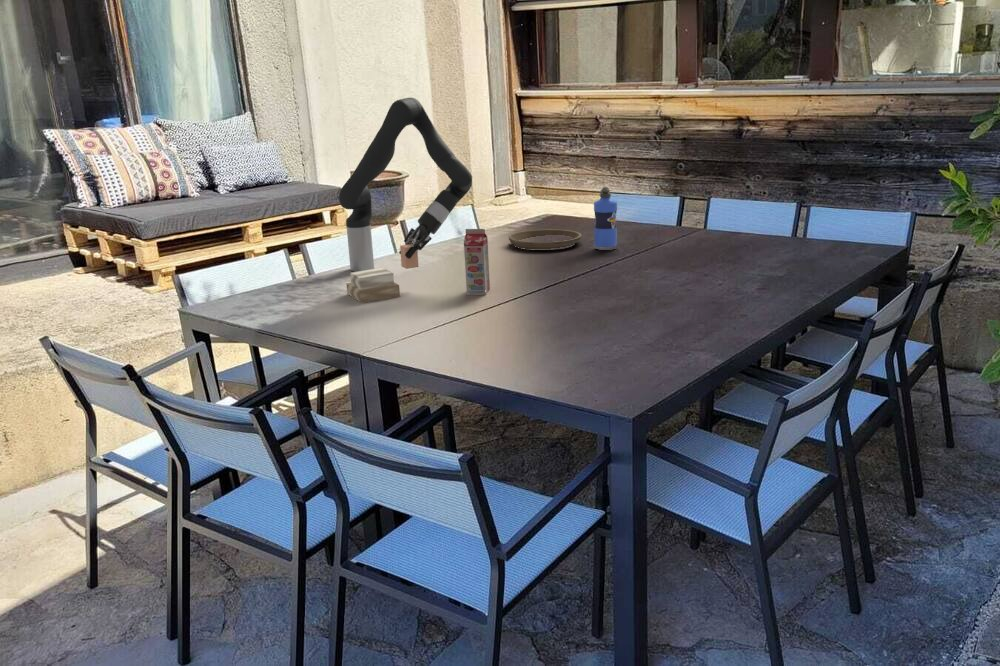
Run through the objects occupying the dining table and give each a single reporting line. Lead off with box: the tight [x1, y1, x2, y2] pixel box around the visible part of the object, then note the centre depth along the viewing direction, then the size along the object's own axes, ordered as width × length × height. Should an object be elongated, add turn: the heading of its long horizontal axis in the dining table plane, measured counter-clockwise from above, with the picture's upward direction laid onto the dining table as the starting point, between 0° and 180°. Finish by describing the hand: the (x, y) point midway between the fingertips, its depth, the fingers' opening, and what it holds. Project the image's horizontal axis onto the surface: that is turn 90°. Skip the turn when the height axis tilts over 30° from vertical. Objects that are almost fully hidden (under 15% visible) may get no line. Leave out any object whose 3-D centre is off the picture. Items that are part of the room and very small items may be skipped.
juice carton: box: [463, 228, 491, 296], centre depth 297 cm, size 7×7×22 cm
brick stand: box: [345, 267, 401, 303], centre depth 301 cm, size 14×14×8 cm
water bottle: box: [593, 186, 618, 247], centre depth 356 cm, size 9×9×25 cm
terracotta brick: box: [399, 244, 420, 270], centre depth 304 cm, size 4×4×8 cm
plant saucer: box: [508, 228, 583, 249], centre depth 372 cm, size 31×31×5 cm
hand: (404, 255), depth 303 cm, fingers closed on terracotta brick, 4 cm apart
